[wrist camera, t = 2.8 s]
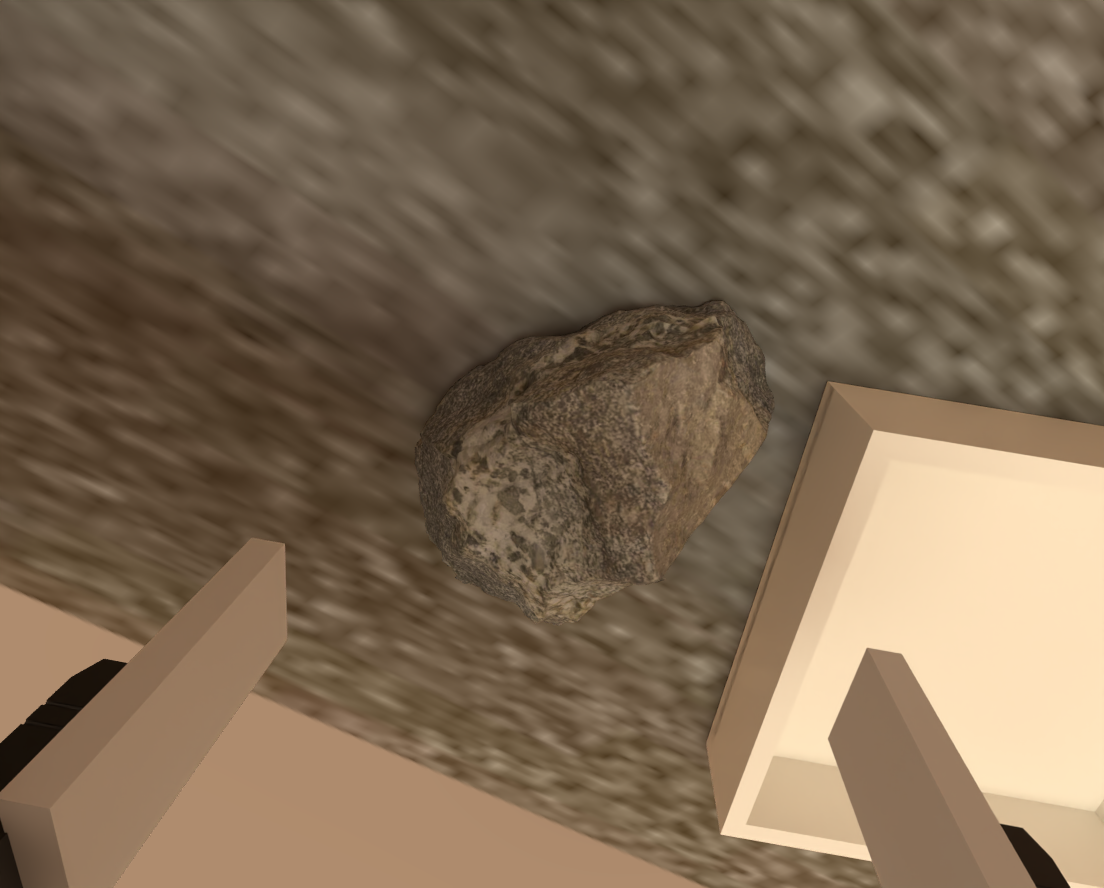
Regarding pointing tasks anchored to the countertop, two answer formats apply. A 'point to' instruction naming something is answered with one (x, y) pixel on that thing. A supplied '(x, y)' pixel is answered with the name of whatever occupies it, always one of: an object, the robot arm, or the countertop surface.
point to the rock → (591, 454)
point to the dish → (929, 619)
